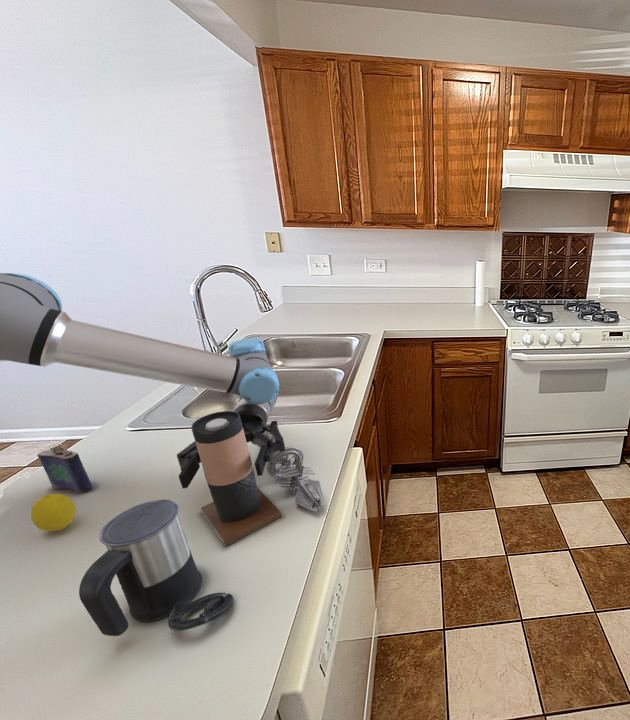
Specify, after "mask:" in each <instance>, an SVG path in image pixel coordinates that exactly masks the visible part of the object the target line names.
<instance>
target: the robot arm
mask: <svg viewBox="0 0 630 720" xmlns="http://www.w3.org/2000/svg"><path fill="white" fill-rule="evenodd" d="M228 353H229V355H227V354H226V355H225V354H221V353H217V352H213V351H210V350H209V351H208V350H203V349H199V348H195V347H191V346H187V345H183V344H179V343H173V342H170V341H167V340H161V339H157V338H153V337H148V336H143V335H139V334H136V333H131V332H127V331H123V330H118V329H115V328H109V327H106V326H102V325H96V324H93V323H88V322H84V321H81V320H75V319H72V318H71V317H70V316H69V314H68V313H67V312H66V311H63V304H62V300H61V297H60V296H59V295H58V293H57V292H56V291H55V290H54V289H53V288H52V287H51V286H50V285H48V284H47V283H46V282H44V281H42V280H41V279H38V278H35V277H33V276H30V275H26V274H23V273H14V272H0V362H7V361H8V362H13V363H19V364H25V365H31V366H37V367H42V368H45V367H48V366H49V365H52V364H56V363H57V364H62V365H69V366H74V367H79V368H86V369H90V370H96V371H102V372H107V373H113V374H118V375H124V376H130V377H136V378H141V379H146V380H147V379H148V380H152V381H159V382H163V383H169V384H175V385H180V386H181V385H182V386H187V387H191V388H192V387H193V388H198V389H203V390H209V391H214V392H221V393H224V394H225V393H226V394H232V395H235V396H236V395H237V396H239V400H238V402H237V403H236V405H235V407H234V408H233V410H232V412H236V413H238V414H239V416H240V419H241V422H242V426H243V430H244V434H245V438H246V442H247V444H248V443H251V444H253V445H254V446H257V447H259V448H260V449H259V451H258V454H257V456H256V459H255V461H254V469H255V471H256V472H255V473H256V476H257V477H260V476H261V477H262V476H263V474H264V470H265V468H266V466H267V463H268V462H270V461H271V460H272V458H273V455H274V454H275V452H276V451H278V450H279V451H280V452H282V451H284V450H285V448H286V446H285V440H284V437H283V435H282V434H281V432H280V429H279V425H278V424H279V423H278V421H277V420H272V421H271V422H270V423H269V424H268V421H269V418H270V416H271V413H272V411H273V408H274V406H275V405H276V403H277V400H278V395H279V391H280V380H279V377H278V375H277V373H276V372H275V370H274V369H273V367H272V365H271V363H270V361H269V359H268V356H267V349H266V347H265V343H264V341H263V340H262V339H260V338H255V337H253V338H252V337H250V338H242V339H238V340H235V341H232V342H231V343H229V345H228ZM265 431H267V432H268V433H270V435H271V436H272V438H273V439H269V438H267V437H266V436H264V435H263V433H265ZM273 440H274V443H273ZM176 458H177V462H178V464H179V468H180V473H179V474H178V479H179V482H180V485H181V489H188V488H189V487H190V485H191V483H192V481H193V479H194V478H195V477H196V475H197V473H198V471H199V469H200V468H201V465H200V464H202V463H201V460H200V456H199V453H198V449H197V446H196V442H195V440H194V441H193V442H192V443H190V444H189V445H188V446H186V447H185V448H184V449H182V450H181V451H179V452H177V454H176Z"/></svg>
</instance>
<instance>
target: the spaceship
mask: <svg viewBox="0 0 630 720" xmlns="http://www.w3.org/2000/svg"><path fill="white" fill-rule="evenodd" d="M263 435H264V436H266V437H267V438H269V439H273V438H272V435H270V433H268V432H267V431H265V433H263ZM273 443H274V440H273ZM289 456H291V457H290V458H289ZM304 458H305V457H304V452H303V451H302V450H301V449H300V448H298V447H296V446H285V450H284V451H282V452H280V451H279V450H278V451H276V452H275V454H274V455H273V458H272V460H271V461H270V462H267V463H266V472H267V474H268V476H269V477H270V478H272V479H276V482H278V484H279V485H280V487H281V488H288V489H290V491H291V492H292V493H293V495H295V498H294V503H295V504H297V505H299V506H301V507H303V508H305V509H307V510H310V511H312V512H317V511H318V510H320V511H322V509H321V506H323V505H324V498H323V497H324V495H323V491H322V487H321V483H320V480H313V479H311V478H309V476H308V475H316V473H315V472H314V471H313V470H312V468H311V467H306V466H305V465H303V463H304ZM277 465H280V466H279V467H277ZM303 475H306V476H303ZM287 478H290V479H287Z"/></svg>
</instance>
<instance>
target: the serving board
mask: <svg viewBox="0 0 630 720" xmlns="http://www.w3.org/2000/svg"><path fill="white" fill-rule="evenodd" d="M257 489H258V494H259V499H260V506H259V508H258V509H257V511H256V512H255V513H253V514H252V515H251V516H249V517H247V518H245V519H243V520H240V521H236V522H225V521H222V520H221V519H220V517H219V515H218V512H217V509H216V507H215V504H214V501H212V502H210V503H208V504H205V505H203V506H201V507H200V510H201V513H202V515H203V517H204V518H205V520H206V521H207V522H208V524H209V526H210V527H211V528H212V530H213V531H214V533H215V535H216V536H217V537H218V539H219V540H220V541H221V543H222V545H223V546H224V547H225V548H227V547H229V546H231V545H232V544H235V543H236V542H238V541H240V540H241V539H244V538H246V537H247V536H249V535H251V534H253V533H255V532H256V531H258V530H260V529H262V528H264V527H266V526H268V525H269V524H271V523H273V522H276V521H277V520H279V519H281V518H282V513H281V510H279V508H278V507H277V506H276V505H275V504H274V502H272V501H271V500H270V499H269V498H268V496H267V495H265V494H264V492H262V491H261V489H260V488H259V487H258V486H257Z"/></svg>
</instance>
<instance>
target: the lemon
mask: <svg viewBox="0 0 630 720" xmlns="http://www.w3.org/2000/svg"><path fill="white" fill-rule="evenodd" d="M76 513H77V509H76V505H75V503H74V502H73V500H72V499H71V498H70V497H69V496H67V495H65V494H62V493H49V494H48V493H47V494H44V495H43V496H42V497H40V498H39V499H38V500H36V501H35V502H34V504H33V505H32V506H31V510H30V516H31V521H32V523H33V525H35V527H37V528H38V529H39V530H42V531H44V532H55V531H63V530H64V529H65V528H66V527H67V526H68V525H69V524H71V523H72V522H73V521H74V518H75V517H76Z"/></svg>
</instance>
